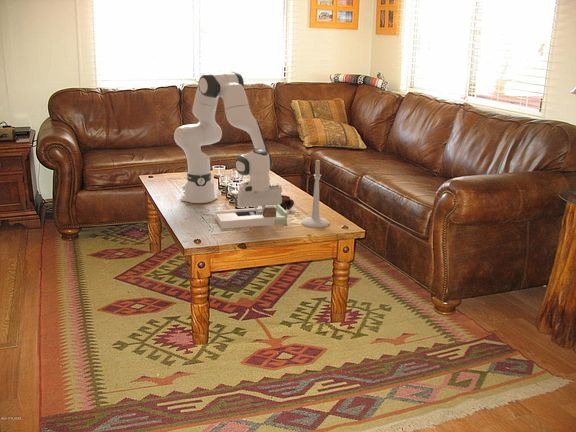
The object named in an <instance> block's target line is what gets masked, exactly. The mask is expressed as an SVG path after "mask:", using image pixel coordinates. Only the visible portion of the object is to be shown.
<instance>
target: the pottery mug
mask: <svg viewBox="0 0 576 432" xmlns="http://www.w3.org/2000/svg"><path fill="white" fill-rule="evenodd" d="M281 197H282V203H281V204H280V206H281V207H282V208H283V209H284V210H285V211H286V212H287V210H288V211H289V210H291V209H292V208H293V207H294V206H295V202H294V199H292V198H291V197H290V196H288V195H284V194H283V195H282V194H281Z"/></svg>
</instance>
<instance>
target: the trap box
mask: <svg viewBox="0 0 576 432" xmlns="http://www.w3.org/2000/svg"><path fill="white" fill-rule="evenodd" d="M274 207H275V208H276V217H266V218H264V217H263V215H256V210H255V209H254V207H253V208H238V209H225V210H224V209H223V210H214V211H215V212H214V214H215V216H214V218H215V220H216V222H217V223H218V224H219V226H220V228H221V230H223V229H235V228H236V229H237V228H251V227H263V226H264V227H265V226H267V227H268V226H279V225H287V224H288V212H287V210H286V211H285V210H284V209H283V208H282V207H281V206H280V205H274ZM261 209H262V207H258V208H257V210H258V211H261Z"/></svg>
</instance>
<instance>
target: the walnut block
mask: <svg viewBox="0 0 576 432" xmlns="http://www.w3.org/2000/svg"><path fill="white" fill-rule="evenodd" d="M263 217H264V218H266V217H276V208H275V205H268V206H265V209H264V211H263Z"/></svg>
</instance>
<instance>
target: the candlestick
mask: <svg viewBox="0 0 576 432" xmlns="http://www.w3.org/2000/svg"><path fill="white" fill-rule="evenodd" d="M314 167H315V168H314V169H315V171H314V174H313V177H314V178H313V179H314V188H313V197H312V209H311V210H312V211H311V216H308V217H305V218H303V219H302V220H301V222H300V224H301V225H302V226H304V227H308V228H311V229H312V228H313V229H314V228H315V229H321V228H322V227H323V228H326V226H327V227H328V226H329V225H330V221H328V220H327V218H324V217H322V216H321V215H320V179H321V176H322V174H320V170H321V160H319V159H316V160H315V166H314ZM320 216H321V217H320Z"/></svg>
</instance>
